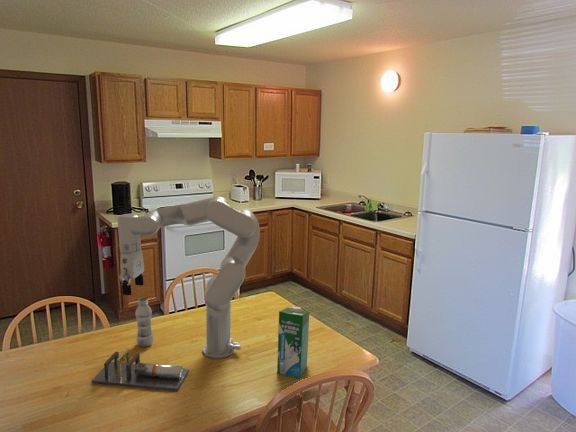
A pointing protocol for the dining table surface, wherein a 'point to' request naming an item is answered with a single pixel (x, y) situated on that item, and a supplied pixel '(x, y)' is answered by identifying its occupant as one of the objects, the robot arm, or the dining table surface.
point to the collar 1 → (106, 364)
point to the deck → (139, 379)
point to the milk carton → (293, 341)
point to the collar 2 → (128, 366)
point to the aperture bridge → (122, 357)
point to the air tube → (158, 370)
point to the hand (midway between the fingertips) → (133, 289)
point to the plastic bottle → (144, 323)
